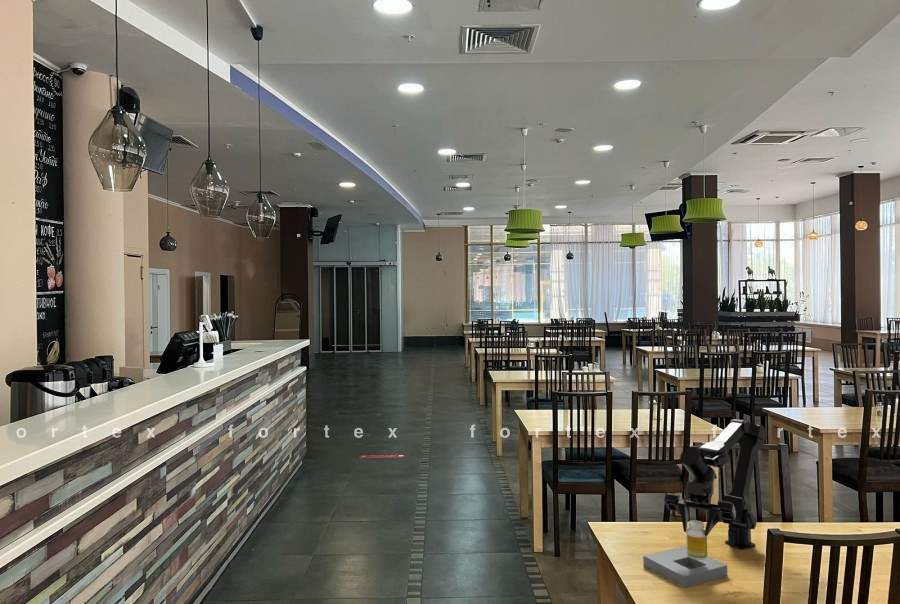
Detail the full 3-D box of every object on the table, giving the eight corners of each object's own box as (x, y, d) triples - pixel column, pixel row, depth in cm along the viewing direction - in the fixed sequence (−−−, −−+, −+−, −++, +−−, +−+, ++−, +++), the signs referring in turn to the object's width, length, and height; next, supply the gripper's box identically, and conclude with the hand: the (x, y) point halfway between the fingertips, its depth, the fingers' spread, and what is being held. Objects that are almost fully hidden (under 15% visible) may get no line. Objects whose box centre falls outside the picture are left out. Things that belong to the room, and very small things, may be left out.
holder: (684, 555, 188) (684, 545, 188) (727, 575, 173) (727, 565, 173) (643, 565, 181) (643, 555, 181) (684, 587, 166) (684, 576, 166)
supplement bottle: (709, 561, 171) (708, 526, 171) (689, 560, 171) (688, 525, 172) (705, 553, 176) (703, 519, 176) (685, 552, 177) (684, 518, 177)
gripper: (664, 465, 182) (655, 513, 173) (732, 473, 172) (726, 525, 163) (672, 485, 189) (663, 532, 180) (738, 494, 178) (732, 545, 169)
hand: (695, 533), depth 173 cm, fingers closed on supplement bottle, 5 cm apart
